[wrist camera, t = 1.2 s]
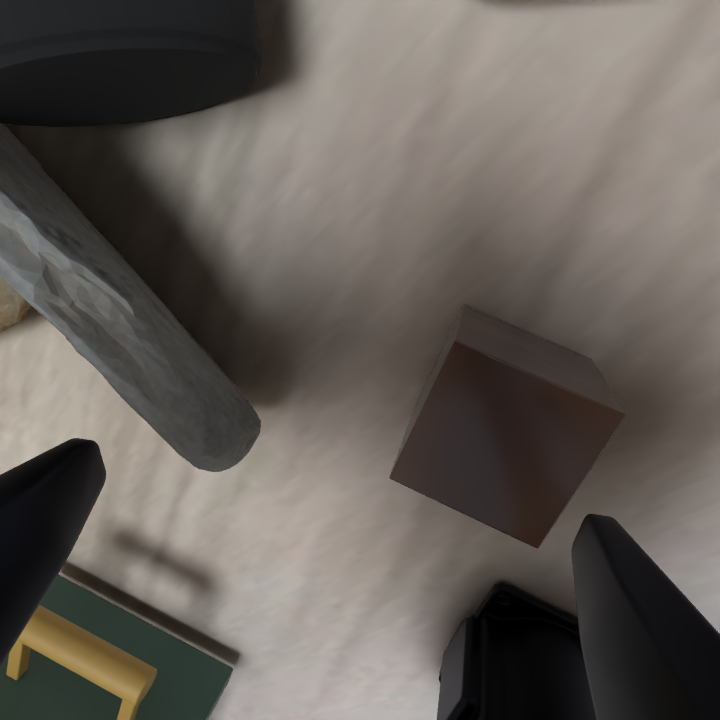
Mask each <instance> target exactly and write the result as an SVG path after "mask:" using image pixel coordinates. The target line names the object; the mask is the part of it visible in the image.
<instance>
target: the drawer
mask: <svg viewBox="0 0 720 720" xmlns="http://www.w3.org/2000/svg"><path fill="white" fill-rule="evenodd" d="M232 671H233V668H232V667H230V666H228V665H226V664H224V663H222V662H220V661H218V660H217V659H215V658H213V657H211V656H209V655H207V654H205V653H204V652H202V651H200V650H198V649H196V648H194V647H192V646H190V645H189V644H187V643H185V642H183V641H181V640H179V639H177V638H176V637H174V636H172V635H170V634H168V633H166V632H164V631H162V630H161V629H159V628H157V627H155V626H153V625H151V624H149V623H148V622H146V621H144V620H142V619H140V618H138V617H136V616H134V615H133V614H131V613H129V612H127V611H125V610H123V609H121V608H120V607H118V606H116V605H114V604H112V603H110V602H108V601H106V600H105V599H103V598H101V597H99V596H97V595H95V594H93V593H92V592H90V591H88V590H86V589H84V588H82V587H80V586H78V585H77V584H75V583H73V582H71V581H69V580H67V579H65V578H64V577H62V576H60V575H57V577H56V578H55V580H54V581H53V583H52V585H51V586H50V588H49V589H48V591H47V593H46V594H45V596H44V598H43V599H42V601H41V602H40V604H39V606H38V607H37V609H36V610H35V612H34V614H33V615H32V617H31V619H30V620H29V622H28V623H27V625H26V627H25V628H24V630H23V631H22V633H21V635H20V636H19V638H18V640H17V641H16V643H15V644H14V646H13V648H12V649H11V651H10V652H9V654H8V656H7V657H6V659H5V661H4V662H3V664H2V665H1V667H0V720H208V718H209V717H210V715H211V713H212V711H213V709H214V707H215V706H216V704H217V702H218V700H219V698H220V696H221V694H222V693H223V691H224V689H225V687H226V685H227V683H228V681H229V679H230V676H231V674H232Z"/></svg>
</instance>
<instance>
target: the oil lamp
mask: <svg viewBox="0 0 720 720" xmlns="http://www.w3.org/2000/svg"><path fill="white" fill-rule="evenodd" d="M30 306H31V305H30V304H29V303H28V302H27V301H26V300H25V299H24V298H23V297H22V296H21V295H20V294H19V293H18V292H16V291H15V290H14V289H13V288H12V287H11V286H10V285H9V284H7V283H6V282H5V281H4V280H3V279H2V278H1V277H0V333H1V332H2V331H4V330H6V329H8V328H9V327H11V326H12V325H14V324H16V323H19V322H20V320H21V319H22V318H23V317H24V316H25V314H26V313H27V311H28V309H29V308H30Z"/></svg>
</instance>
